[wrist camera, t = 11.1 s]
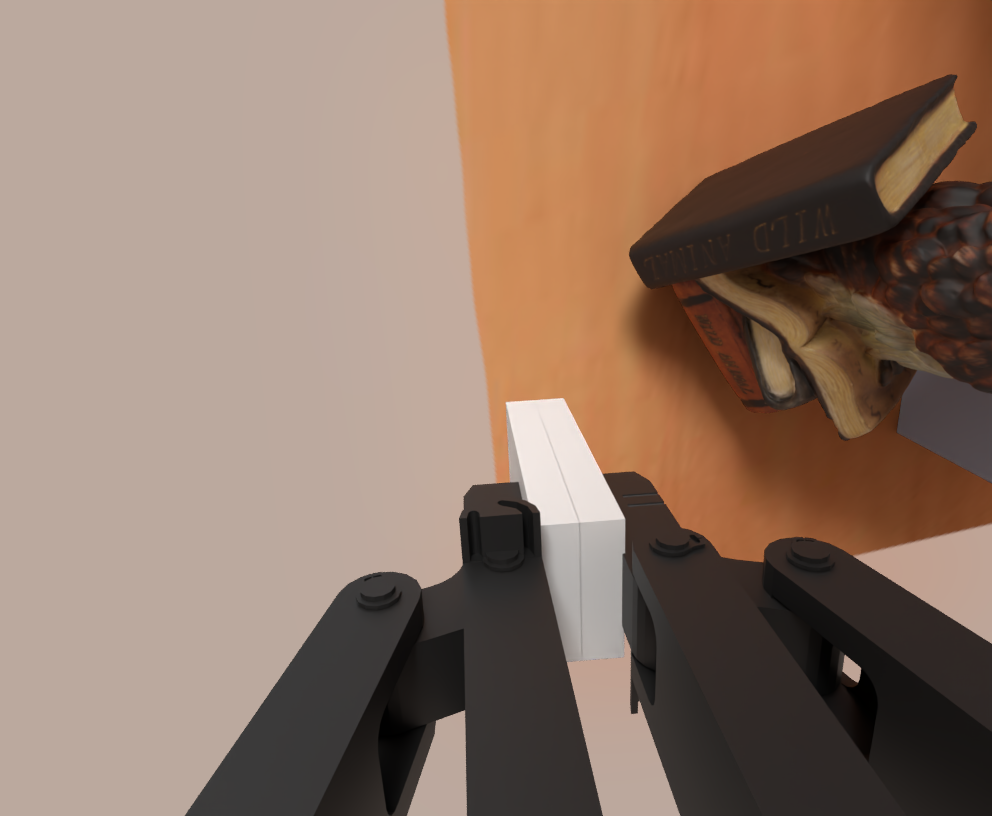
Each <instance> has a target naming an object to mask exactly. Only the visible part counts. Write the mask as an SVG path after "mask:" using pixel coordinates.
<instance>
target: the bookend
mask: <svg viewBox="0 0 992 816" xmlns="http://www.w3.org/2000/svg"><path fill="white" fill-rule="evenodd" d="M956 79H957V75H947V76H945V77H942V78H939V79H936V80H933V81H931V82H929V83H927V84H925V85H922V86H919V87H917V88H914V89H912V90H909V91H906V92H904V93H902V94H899V95H896V96H894V97H891V98H889V99H887V100H884V101H882V102H880V103H878V104H876V105H874V106H872V107H868V108H866V109H864V110H862V111H859V112H856V113H854V114H852V115H850V116H847V117H845V118H842V119H839V120H837V121H835V122H833V123H831V124H828V125H825V126H823V127H821V128H818V129H816V130H814V131H811V132H809V133H807V134H805V135H803V136H801V137H798V138H796V139H793V140H791V141H789V142H787V143H784V144H781V145H779V146H777V147H775V148H773V149H770V150H768V151H766V152H763V153H761V154H758V155H756V156H754V157H752V158H750V159H748V160H746V161H744V162H741V163H739V164H737V165H735V166H732V167H730V168H727V169H724V170H723V171H720V172H718V173H716V174H714V175H712V176H709V177H707V178H705V179H704V180H703V181H702V182H701V183H700V184H699V185H698V186H696V187H695V188H694V189H693V190H692V191H691V192H690V193H689V194H688V195H687V196H685V197H684V198H683V199H682V200H681V201H680V202H678V203H677V204H676V205H675V206H674V207H673V208H672V209H671V210H670V211H669V212H668V213H667V214H666V215H665V216H664V217H663V218H662V219H661V220H660V221H659V222H657V223H656V224H655V225H654V226H653V227H652V228H651V229H650V230H649V231H647V232H646V233H645V234H644V235H643V236H642V237H641V238H640V240H638V241H637V242H636V243H635V244H634V245H633V246H632V247H631V248H630V252H629V257H630V259H631V262H632V264H633V266H634V268H635V269H636V271H637V273H638V274H639V276H640V278H641V280H642V281H643V283H644V284H645V285H646V286H647V287H648V288H650V289H655V288H660V287H664V286H668V285H672V287H673V289H674V291H675V293H676V295H677V297H678V299H679V301H680V303H681V305H682V306H683V308H684V310H685V312H686V313H687V315H688V317H689V319H690V321H691V322H692V324H693V326H694V327H695V329H696V331H697V332H698V334H699V336H700V337H701V339H702V341H703V342H704V344H705V346H706V348H707V349H708V351H709V352H710V354H711V356H712V358H713V359H714V361H715V362H716V364H717V366H718V367H719V369H720V371H721V372H722V374H723V375H724V377H725V378H726V380H727V381H728V383H729V384H730V386H731V387H732V388H733V390H734V391H735V393H736V394H737V396H738V397H739V398H740V399H741V401H742V402H743V404H744V405H745V407H746V408H747V409H748V410H749V411H751V412H754V413H756V412H761V413H772V412H777V411H781V410H786V409H790V408H794V407H797V406H800V405H803V404H805V403H808V402H809V401H811V400H814V399H815V398H818V400H819V402H820V404H821V406H822V408H823V409H824V411H825V413H826V416H827V417H828V418H829V419H832V420H833V422H834V425H835V427H837V429H838V434H839V436H840V438H841V439H842V440H845V441H846V440H849V439H850V438H857V437H860V436H862V435H863V434H866V433H869V432H870V431H872V430H873V429H874V428H875V427H876V426H877V425H878V424H879V423H880V422H881V421H882V420H883V419H884V418H885V417H886V415H887V414H888V413H889V412H890V411H891V410H892V409H893V408H894V407H895V405H896V404H897V403H898V401H899V400H900V398H901V397H902V395H903V393H904V392H905V390H906V389H907V387H908V386H909V384H910V382H911V380H912V379H913V377H914V375H915V374H916V372H917V370H919V371H925V372H928V373H932V374H935V375H938V376H941V377H945V378H952V379H956V380H958V381H960V382H964V383H968V384H970V385H971V386H972V387H973V388H974V389H976V390H978V391H981V392H985V393H990V394H992V182H987V183H983V184H976V183H971V182H963V181H946V182H939V183H935V184H933V183H934V181H935V180H936V179H937V178H938V176H939V175H940V174H941V172H942V171H943V170H944V169H945V168H946V167H947V166H948V165H949V164H950V163H951V161H952V160H953V158H954V157H955V156H956V153H957V151H958V149H959V148H961V147H962V146H963V145H964V144H965V143H966V141H967V140H968V139H969V138H970V137H971V135H972V134H973V133H974V132H975V130H976V128H977V124H976V123H975V122H965V121H963V118H962V115H961V114H960V112H959V108H958V105H957V100H956V97H955V96H954V89H953V86H954V83H955V81H956Z"/></svg>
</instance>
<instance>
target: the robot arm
mask: <svg viewBox="0 0 992 816" xmlns="http://www.w3.org/2000/svg"><path fill="white" fill-rule="evenodd" d="M506 415H507V433H508V452H509V470H510V483H497V484H483V485H473V486H472V487H471V488H470V490H469V491H468V492H467V493H466V495H465V496H464V510H463V511H462V513H461V515H460V518H459V523H460V535H461V547H462V559H463V566H462V567H461V569H460V570H459V571H458V572H457V573H456V574H455V575H454V576H453V577H452V578H449V579H448V580H446V581H444V582H442V583H440V584H437V585H434V586H431V587H428V588H424V589H421V587H420V585H419V584H418V582H417V580H415V579H413V578H412V577H410V576H408V575H407V574H402V573H396V572H378V573H373V574H369V575H366V576H363V577H360V578H359V579H357V580H355V581H353V582H351V583H349V584H348V585H347V586H346V587H345V588H344V589H343V590H341V592H339V594H338V595H337V596H336V598H335V599H334V601H333V602H332V604H331V605H330V607H329V608H328V609H327V611H326V612H325V614H324V615H323V617H322V618H321V620H320V621H319V622H318V624H317V625H316V627H315V628H314V630H313V631H312V633H311V634H310V636H309V637H308V638H307V640H306V641H305V643H304V644H303V646H302V647H301V649H300V650H299V651H298V653H297V654H296V656H295V657H294V659H293V660H292V662H291V663H290V664H289V666H288V667H287V669H286V670H285V672H284V673H283V674H282V676H281V678H280V679H279V680H278V682H277V683H276V685H275V686H274V687H273V689H272V690H271V692H270V693H269V695H268V696H267V698H266V699H265V701H264V702H263V704H262V705H261V706H260V708H259V709H258V711H257V712H256V714H255V715H254V716H253V718H252V719H251V721H250V722H249V724H248V725H247V727H246V728H245V729H244V731H243V732H242V734H241V735H240V737H239V738H238V740H237V741H236V742H235V744H234V746H233V747H232V748H231V750H230V751H229V753H228V754H227V755H226V757H225V759H224V760H223V761H222V763H221V764H220V766H219V767H218V769H217V770H216V771H215V773H214V774H213V776H212V777H211V779H210V780H209V782H208V783H207V784H206V786H205V787H204V789H203V790H202V792H201V793H200V795H199V796H198V797H197V799H196V800H195V802H194V803H193V805H192V806H191V808H190V809H189V810H188V812H187V813H186V815H185V816H407V813H408V810H409V807H410V805H411V801H412V799H413V796H414V793H415V790H416V787H417V784H418V781H419V778H420V775H421V772H422V769H423V766H424V763H425V761H426V757H427V755H428V752H429V749H430V746H431V743H432V740H433V737H434V734H435V724H436V720H439V719H442V718H444V717H447V716H450V715H453V714H455V713H458V712H461V711H464V710H465V718H466V719H465V722H466V780H467V816H603V815H602V811H601V806H600V802H599V798H598V793H597V789H596V785H595V781H594V776H593V772H592V768H591V764H590V759H589V755H588V751H587V747H586V742H585V738H584V734H583V730H582V725H581V721H580V717H579V713H578V708H577V704H576V700H575V695H574V691H573V687H572V683H571V678H570V675H569V670H568V666H567V662H572V661H583V660H584V661H585V660H596V659H608V658H620V657H624V632H625V634H626V637H627V640H628V642H629V645H630V648H631V694H630V695H631V696H630V705H631V714H635V713H638V701H639V700H640V703H641V705H642V708H643V711H644V714H645V717H646V720H647V723H648V725H649V728H650V731H651V734H652V737H653V739H654V742H655V745H656V748H657V751H658V754H659V756H660V759H661V762H662V765H663V768H664V770H665V773H666V776H667V779H668V782H669V785H670V788H671V791H672V793H673V796H674V799H675V802H676V805H677V807H678V810H679V813H680V815H681V816H992V644H991V643H990V642H988V641H986V640H985V639H983V638H982V637H980V636H978V635H977V634H975V633H974V632H972V631H971V630H969V629H967V628H966V627H964V626H962V625H961V624H959V623H958V622H956V621H955V620H953V619H951V618H950V617H948V616H947V615H945V614H944V613H942V612H940V611H939V610H937V609H936V608H934V607H932V606H931V605H929V604H928V603H926V602H925V601H923V600H921V599H920V598H918V597H917V596H915V595H913V594H912V593H910V592H909V591H907V590H905V589H904V588H902V587H901V586H899V585H898V584H896V583H894V582H892V581H891V580H889V579H888V578H886V577H885V576H883V575H882V574H880V573H878V572H877V571H875V570H874V569H872V568H871V567H869V566H867V565H866V564H864V563H863V562H861V561H859V560H858V559H856V558H855V557H853V556H852V555H850V554H848V553H847V552H845V551H844V550H842V549H839V548H837V547H835V546H833V545H831V544H829V543H825V542H822V541H818V540H816V539H813V538H806V537H805V538H803V537H794V538H785V539H779V540H777V541H774V542H772V543H770V544H769V545H768V546H767V548H766V549H765V551H764V563H763V562H753V561H743V560H735V559H729V558H723V557H721V556H720V555H719V553H718V552H717V551H716V549H715V548H714V546H713V545H712V544H711V542H709V541H708V540H707V539H706V538H705V537H704V536H702V535H700V534H698V533H696V532H693V531H691V530H688V529H683V528H681V527H680V525H679V524H678V522H677V521H676V519H675V518H674V516H673V515H672V513H671V512H670V510H669V509H668V507H667V506H666V504H664V501H663V500H662V498H661V497H660V495H658V492H657V491H656V489H655V488H654V486H653V485H652V483H651V482H650V481H649V480H648V479H646V478H644V477H642V476H641V475H639V474H637V473H636V472H621V473H608V474H602V473H601V471H600V469H599V467H598V465H597V463H596V461H595V459H594V457H593V455H592V453H591V451H590V449H589V447H588V445H587V443H586V441H585V439H584V437H583V435H582V433H581V432H580V430H579V428H578V426H577V424H576V422H575V420H574V418H573V416H572V414H571V412H570V410H569V408H568V406H567V404H566V402H565V400H564V398H559V399H545V400H530V401H516V402H506ZM844 655H846V656H848V657H849V658H850V659H851V660H852V661H854V662H855V663H856V664H858V666H860V667H861V675H860V680H859V682H858V683H857V682H855V681H854V680H852V679H851V678H849V677H848V676H847V675H846V674H845V673H844V672H842V669H843V662H844Z"/></svg>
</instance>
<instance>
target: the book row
mask: <svg viewBox="0 0 992 816" xmlns="http://www.w3.org/2000/svg"><path fill="white" fill-rule="evenodd" d="M897 433H898V434H900V435H902V436H904V437H906V438H908V439H910V440H911V441H913V442H915V443H917V444H919V445H921V446H923V447H925V448H926V449H928V450H930V451H932V452H934V453H936V454H938V455H940V456H941V457H943V458H945V459H947V460H949V461H951V462H953V463H955V464H956V465H958V466H960V467H962V468H964V469H966V470H968V471H970V472H972V473H973V474H975V475H977V476H979V477H981V478H983V479H985V480H987V481H988V482H990V483H992V394H990V393H985V392H981V391H978V390H976V389H974V388H973V387H972V386H971V385H970V384H968V383H964V382H960V381H958V380H956V379H952V378H945V377H941V376H938V375H935V374H932V373H928V372H925V371H919V370H917V372H916V374H915V375H914V377H913V379H912V380H911V382H910V384H909V386H908V387H907V389H906V390H905V392H904V393H903V395H902V400H901V407H900V413H899V420H898V427H897Z"/></svg>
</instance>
